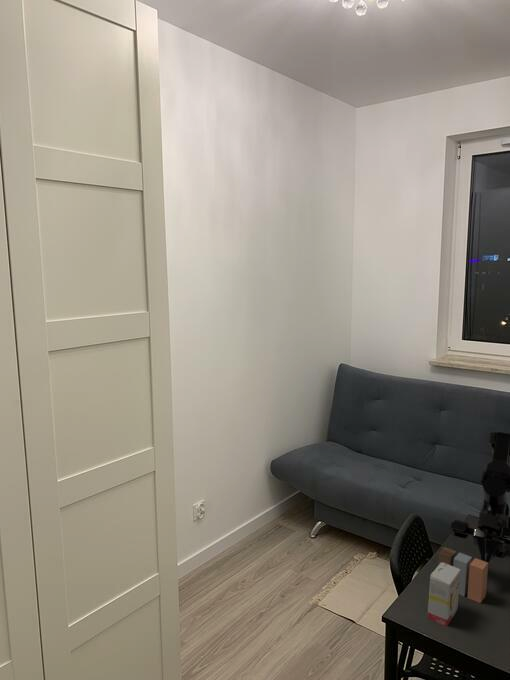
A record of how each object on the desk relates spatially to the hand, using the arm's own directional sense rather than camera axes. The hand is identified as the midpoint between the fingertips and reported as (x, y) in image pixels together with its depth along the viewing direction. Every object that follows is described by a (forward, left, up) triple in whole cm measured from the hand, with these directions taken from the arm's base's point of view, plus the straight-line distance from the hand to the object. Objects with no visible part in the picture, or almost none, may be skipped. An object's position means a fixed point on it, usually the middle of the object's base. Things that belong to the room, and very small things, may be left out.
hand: (484, 568), depth 132 cm
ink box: (+16, -4, -8) cm, 18 cm away
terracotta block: (+4, 0, -6) cm, 7 cm away
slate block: (+4, -4, -6) cm, 8 cm away
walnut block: (+4, -8, -6) cm, 11 cm away
